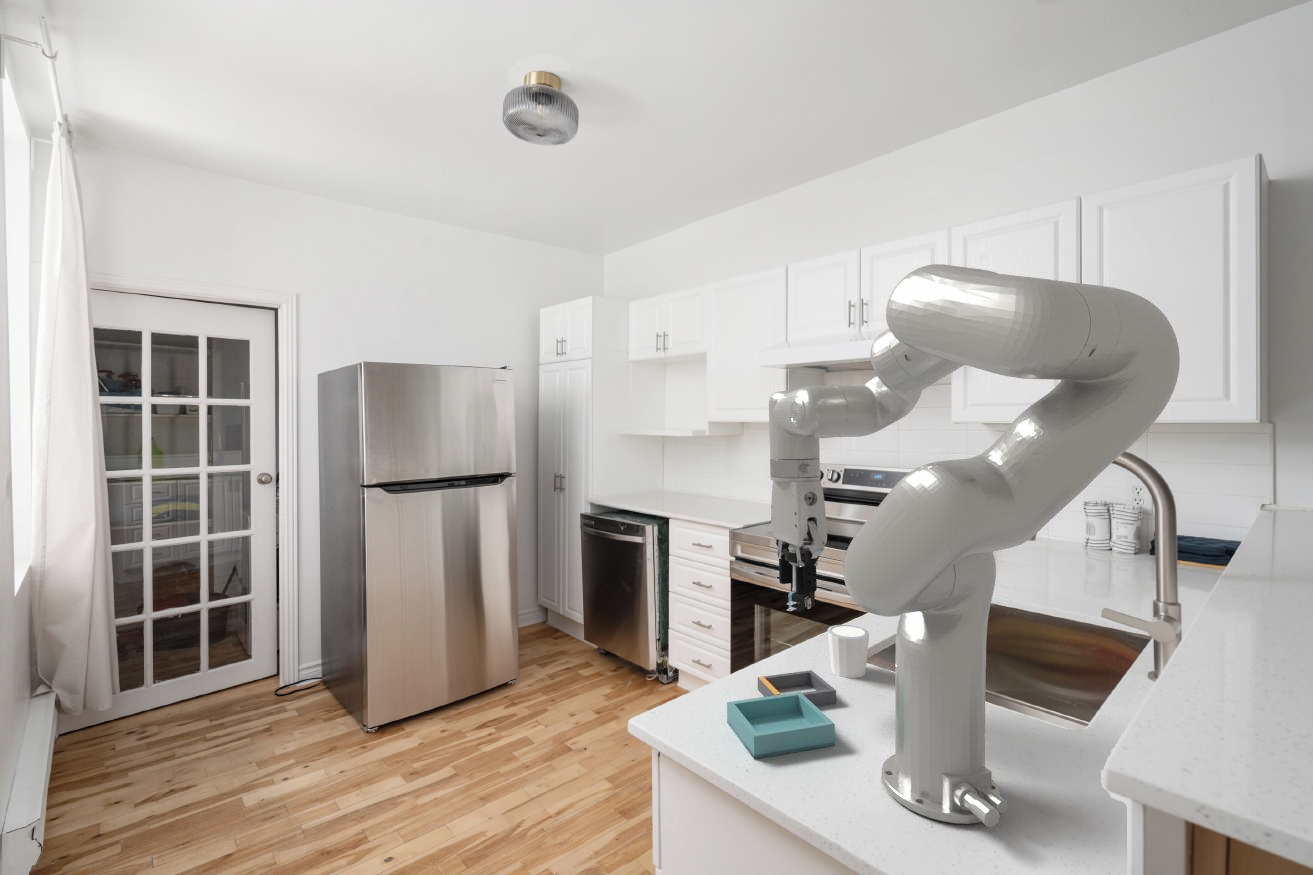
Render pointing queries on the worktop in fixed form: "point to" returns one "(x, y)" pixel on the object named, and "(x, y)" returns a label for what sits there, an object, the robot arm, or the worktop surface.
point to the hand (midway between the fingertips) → (797, 586)
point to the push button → (795, 599)
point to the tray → (780, 725)
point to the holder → (819, 697)
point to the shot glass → (848, 650)
